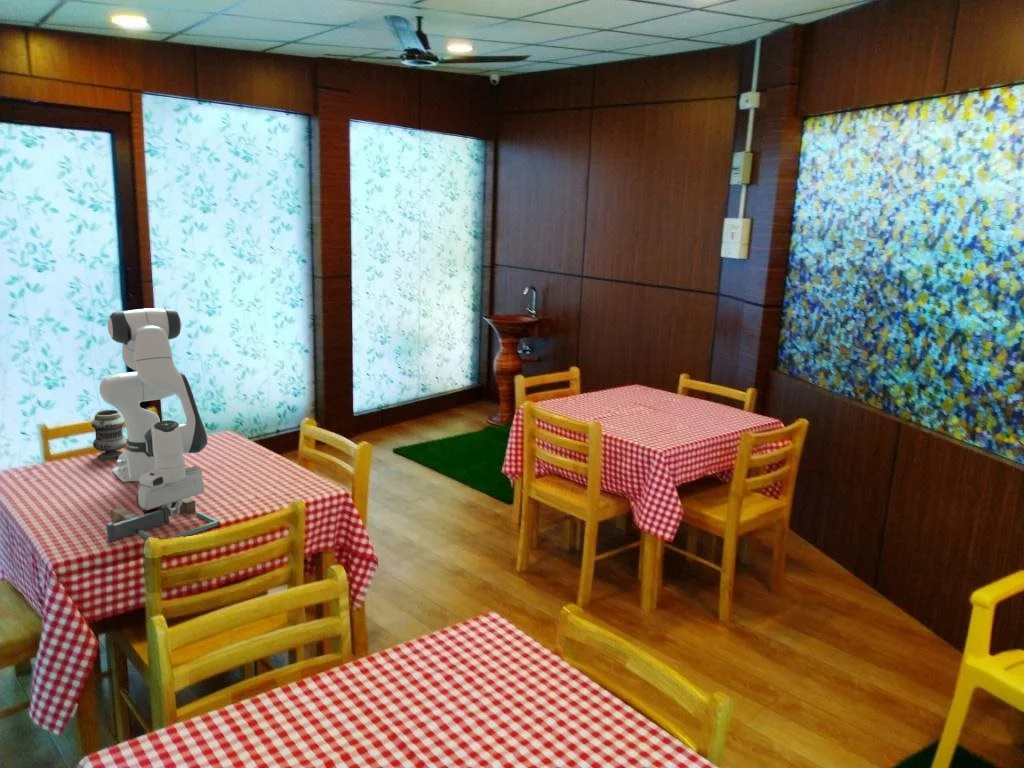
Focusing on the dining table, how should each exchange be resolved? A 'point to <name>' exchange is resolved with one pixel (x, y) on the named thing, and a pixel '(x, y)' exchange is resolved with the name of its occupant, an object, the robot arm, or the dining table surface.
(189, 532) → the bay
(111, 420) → the apothecary jar
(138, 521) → the gate
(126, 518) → the wooden blocks
